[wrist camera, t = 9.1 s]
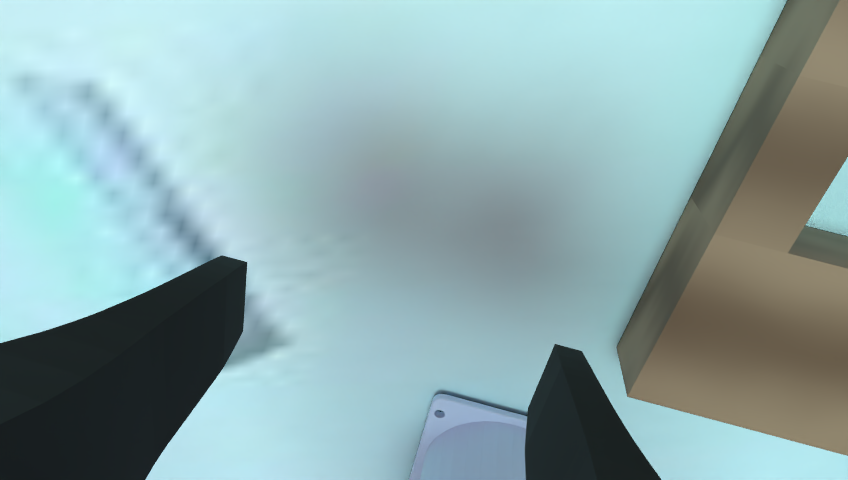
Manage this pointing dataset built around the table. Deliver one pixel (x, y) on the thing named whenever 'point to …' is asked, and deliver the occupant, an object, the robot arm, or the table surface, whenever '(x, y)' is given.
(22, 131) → the table surface
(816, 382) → the wooden board with hole
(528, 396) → the table surface
